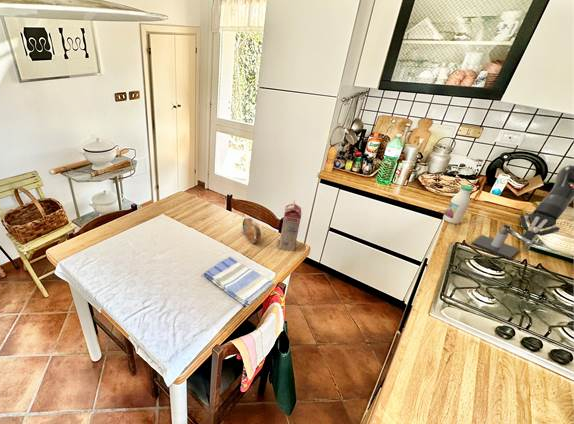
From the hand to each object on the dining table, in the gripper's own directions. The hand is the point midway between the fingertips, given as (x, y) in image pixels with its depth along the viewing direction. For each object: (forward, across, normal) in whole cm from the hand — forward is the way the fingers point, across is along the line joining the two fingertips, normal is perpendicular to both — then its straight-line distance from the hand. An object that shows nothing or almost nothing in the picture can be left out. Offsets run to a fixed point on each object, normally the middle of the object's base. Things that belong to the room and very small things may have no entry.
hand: (525, 239), depth 131 cm
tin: (+70, -74, -57) cm, 117 cm away
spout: (+2, -3, +2) cm, 4 cm away
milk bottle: (-2, -30, +18) cm, 35 cm away
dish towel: (+87, -52, -75) cm, 126 cm away
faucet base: (+5, -8, +9) cm, 13 cm away
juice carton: (+63, -60, -50) cm, 100 cm away
